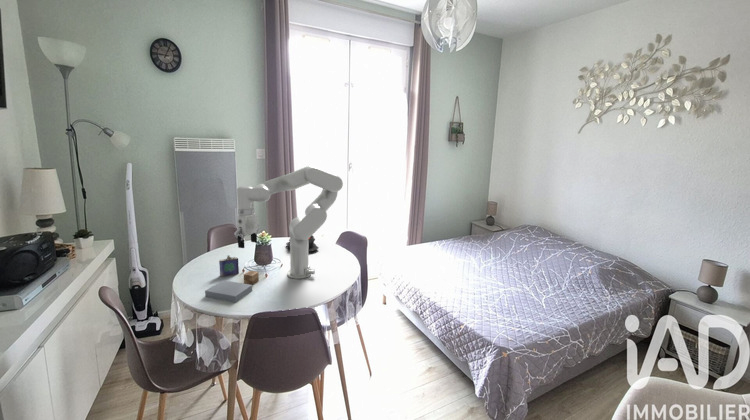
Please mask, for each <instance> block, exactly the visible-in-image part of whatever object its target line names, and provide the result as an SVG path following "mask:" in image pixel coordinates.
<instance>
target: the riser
mask: <svg viewBox="0 0 750 420" xmlns="http://www.w3.org/2000/svg"><path fill="white" fill-rule="evenodd" d="M251 292H253V285H250V284H244V282H243V283H242V282H236V281H230V280H226V279H223V280H221V281H219V282H216V284H215V285H212V286H211V287H208V288H207V289H206V290H204V294H205V296H204V297H205V298H209V299H215V300H220V301H225V300H226V301H225V302H231V303H232V302H233V303H237V302H239V301H240V300H242V299H243V298H244V297H246V296H247V295H248V294H250V293H251Z"/></svg>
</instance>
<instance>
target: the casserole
mask: <svg viewBox="0 0 750 420" xmlns="http://www.w3.org/2000/svg"><path fill="white" fill-rule="evenodd" d="M315 241H316V238H315V236H314V234H313V235H312V236H311V237H310V238H308V242H309V247H308V253H309V252H314V251H316V250H318V249H319V247H318V246H317V244H316V243H315ZM285 244H286V246H287V247H288V249H290V238H289V239H288V242H286V243H285Z"/></svg>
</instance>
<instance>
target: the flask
mask: <svg viewBox="0 0 750 420" xmlns="http://www.w3.org/2000/svg"><path fill="white" fill-rule="evenodd" d="M218 263H219V276H220V277H222V278H223V277H224V278H225V277H230V276H237V275H239V274H240V266H239V258H238V257H236V256H233V257H231V256H230V255H229V254H228V255H226V258H222V259H219V261H218Z"/></svg>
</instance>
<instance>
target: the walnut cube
mask: <svg viewBox="0 0 750 420" xmlns="http://www.w3.org/2000/svg"><path fill="white" fill-rule="evenodd" d="M259 277H260V276H259V271H253V270H248V271H247V272H245V273H244V274H243V284H249V285H252V286H254V285H255V284H256V283H259V281H260V280H259V279H260V278H259Z"/></svg>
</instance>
